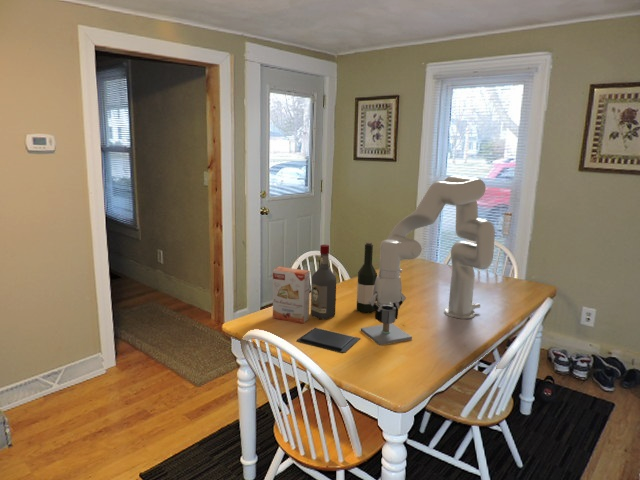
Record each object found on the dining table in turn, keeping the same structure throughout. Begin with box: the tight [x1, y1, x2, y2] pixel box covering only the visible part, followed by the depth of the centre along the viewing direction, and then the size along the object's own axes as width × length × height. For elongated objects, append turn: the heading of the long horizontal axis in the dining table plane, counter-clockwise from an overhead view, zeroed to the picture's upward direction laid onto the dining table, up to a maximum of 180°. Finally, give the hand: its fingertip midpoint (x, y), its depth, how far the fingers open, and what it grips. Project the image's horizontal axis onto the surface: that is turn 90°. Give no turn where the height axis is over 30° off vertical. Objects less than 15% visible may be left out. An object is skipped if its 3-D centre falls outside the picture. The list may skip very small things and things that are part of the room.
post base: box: [360, 323, 413, 346], centre depth 179 cm, size 14×14×7 cm
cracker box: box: [272, 266, 311, 324], centre depth 192 cm, size 14×6×21 cm, turn 69°
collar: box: [379, 305, 397, 324], centre depth 178 cm, size 6×6×5 cm
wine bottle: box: [356, 241, 378, 314], centre depth 202 cm, size 8×8×30 cm
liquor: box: [310, 244, 337, 321], centre depth 195 cm, size 9×9×30 cm
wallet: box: [295, 327, 362, 354], centre depth 175 cm, size 20×2×15 cm
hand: (386, 318), depth 179 cm, fingers closed on collar, 6 cm apart
